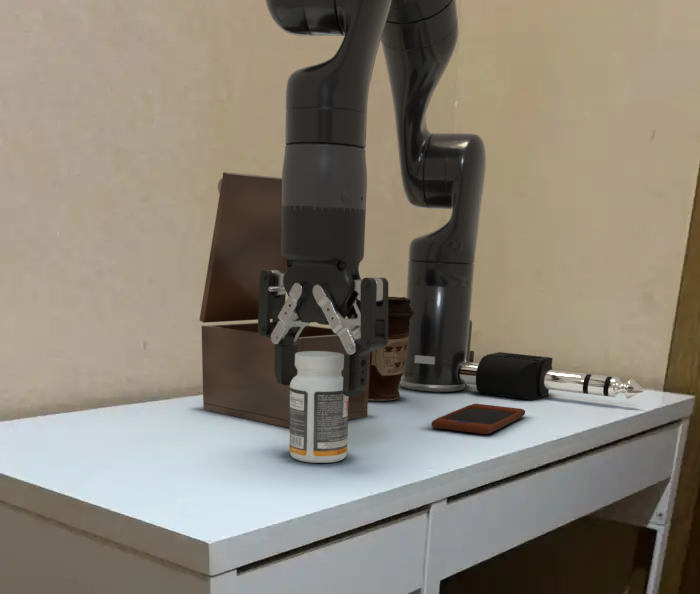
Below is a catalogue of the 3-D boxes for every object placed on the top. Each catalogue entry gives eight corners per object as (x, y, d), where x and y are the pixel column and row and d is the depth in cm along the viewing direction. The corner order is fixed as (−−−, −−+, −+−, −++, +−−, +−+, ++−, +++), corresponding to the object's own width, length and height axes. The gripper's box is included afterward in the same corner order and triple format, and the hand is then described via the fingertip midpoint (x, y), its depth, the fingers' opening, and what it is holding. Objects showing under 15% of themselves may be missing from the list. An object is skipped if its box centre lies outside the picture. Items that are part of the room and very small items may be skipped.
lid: (307, 181, 110) (275, 168, 112) (227, 174, 101) (195, 159, 103) (278, 318, 119) (250, 303, 121) (203, 322, 110) (174, 306, 112)
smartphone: (430, 419, 107) (472, 402, 120) (429, 428, 108) (472, 409, 120) (489, 426, 104) (526, 408, 117) (488, 435, 105) (525, 416, 117)
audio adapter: (489, 348, 140) (657, 365, 128) (485, 384, 142) (650, 405, 130) (458, 354, 131) (635, 373, 120) (455, 393, 133) (628, 415, 122)
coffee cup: (420, 398, 128) (427, 298, 123) (390, 406, 121) (395, 300, 116) (366, 391, 132) (370, 294, 127) (334, 398, 125) (337, 295, 120)
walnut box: (367, 416, 114) (371, 332, 110) (296, 429, 105) (297, 338, 101) (275, 399, 123) (276, 321, 119) (203, 409, 114) (201, 325, 110)
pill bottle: (349, 453, 94) (353, 351, 90) (343, 466, 89) (347, 358, 85) (293, 450, 95) (295, 348, 91) (284, 462, 89) (285, 355, 86)
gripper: (413, 207, 82) (401, 396, 88) (294, 205, 90) (292, 377, 96) (358, 202, 76) (350, 404, 82) (237, 201, 85) (238, 384, 91)
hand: (318, 389), depth 89 cm, fingers open, 8 cm apart
